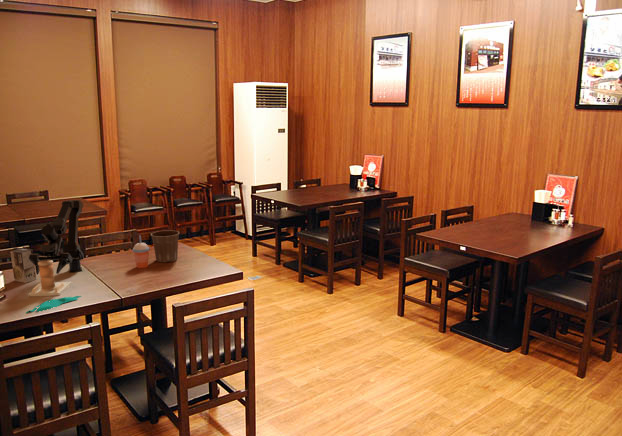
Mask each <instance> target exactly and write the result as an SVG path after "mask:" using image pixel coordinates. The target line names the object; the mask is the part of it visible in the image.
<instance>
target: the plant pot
mask: <svg viewBox="0 0 622 436" xmlns="http://www.w3.org/2000/svg"><path fill="white" fill-rule="evenodd" d="M179 236H180V231H178V230H174V229H173V230H170V229H168V230H158V231H157V230H156V231H154V232H152V233H150V237H151V240H152V243H153V250H154V254H155V261H156V262H158V263H168V262H170V263H171V262H176V261H178V253H179V252H178V248H179V238H180V237H179Z"/></svg>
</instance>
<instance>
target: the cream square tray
mask: <svg viewBox="0 0 622 436" xmlns="http://www.w3.org/2000/svg"><path fill="white" fill-rule="evenodd" d="M72 285H73V281H57V282H56V281H55V286H56V287H55V288H54V289H55V290H53V291H48V292H43V291H41V288H42V287H41V282H40V283H38V284H36V286H34V287H33V288H32V289H31V290H32V291H30V292H29V293H28V297H44V296H45V297H47V296H48V297H50V296H61V295H62V294H63V293H64V292H65V291H66V290H68V288H69V287H71V286H72Z"/></svg>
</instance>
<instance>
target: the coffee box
mask: <svg viewBox="0 0 622 436" xmlns="http://www.w3.org/2000/svg"><path fill="white" fill-rule="evenodd" d="M33 250H34V249H29V248H23V247H20V248H17V249H14V250H11V251H9V252H10V259H11V265H12V273H13V280H14V281H15V282H20V283H25V284H26V283H29V282H32V281H35V280H36V281H37V276H36V275H37V274H36V268H35V264H33V263H32V262H31V261H30V260H29V259H28V258H29V255H30V254H34V251H33Z"/></svg>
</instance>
